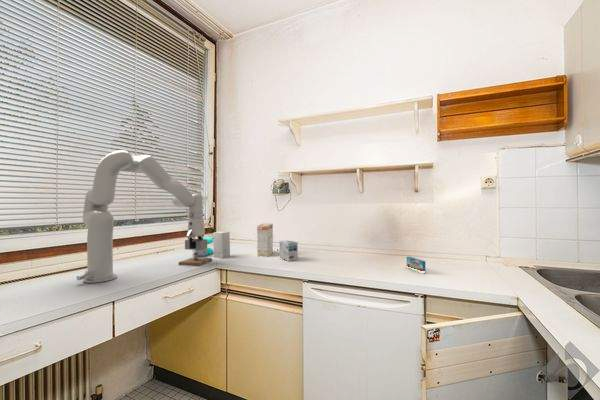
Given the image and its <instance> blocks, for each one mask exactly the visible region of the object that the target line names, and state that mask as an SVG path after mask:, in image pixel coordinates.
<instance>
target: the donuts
mask: <svg viewBox="0 0 600 400" xmlns="http://www.w3.org/2000/svg"><path fill="white" fill-rule="evenodd" d="M203 239H207V245H210V244H212V243H213V238H211V237H203ZM211 254H214V249H213V248H211V247H207V256H208V255H211Z"/></svg>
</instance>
